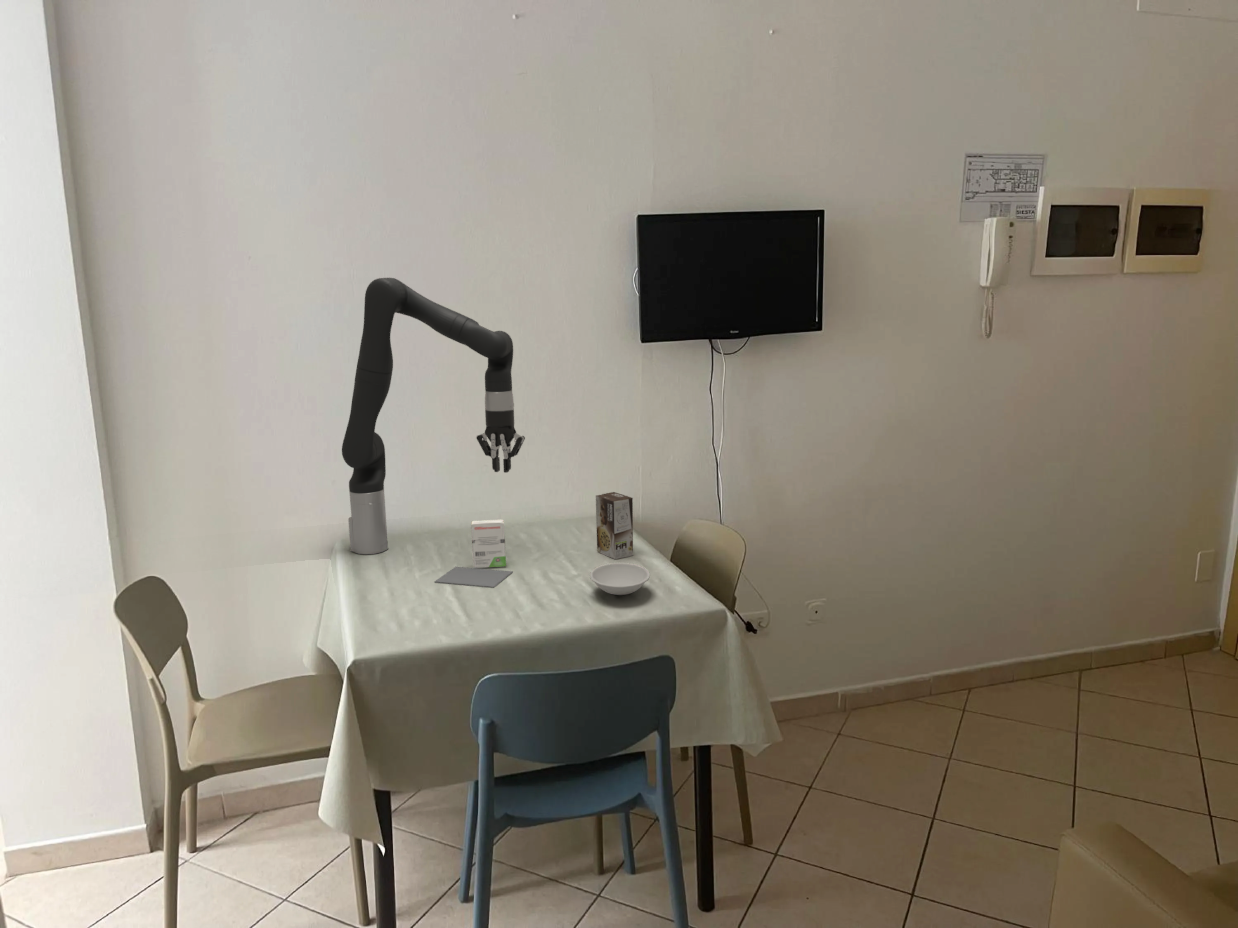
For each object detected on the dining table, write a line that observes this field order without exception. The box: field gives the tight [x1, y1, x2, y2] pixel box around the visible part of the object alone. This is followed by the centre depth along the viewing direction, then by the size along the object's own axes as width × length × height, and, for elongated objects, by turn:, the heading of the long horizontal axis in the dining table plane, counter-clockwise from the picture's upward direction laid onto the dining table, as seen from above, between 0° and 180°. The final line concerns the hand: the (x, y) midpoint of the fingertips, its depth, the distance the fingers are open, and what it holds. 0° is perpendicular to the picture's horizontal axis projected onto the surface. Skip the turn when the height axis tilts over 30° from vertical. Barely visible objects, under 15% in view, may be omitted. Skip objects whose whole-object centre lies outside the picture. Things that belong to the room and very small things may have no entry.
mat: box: [434, 566, 513, 589], centre depth 232 cm, size 16×12×1 cm
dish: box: [588, 562, 651, 596], centre depth 219 cm, size 18×14×5 cm
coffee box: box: [595, 491, 634, 560], centre depth 248 cm, size 9×6×16 cm
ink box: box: [470, 519, 507, 569], centre depth 240 cm, size 9×5×12 cm, turn 98°
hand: (501, 471), depth 246 cm, fingers closed
